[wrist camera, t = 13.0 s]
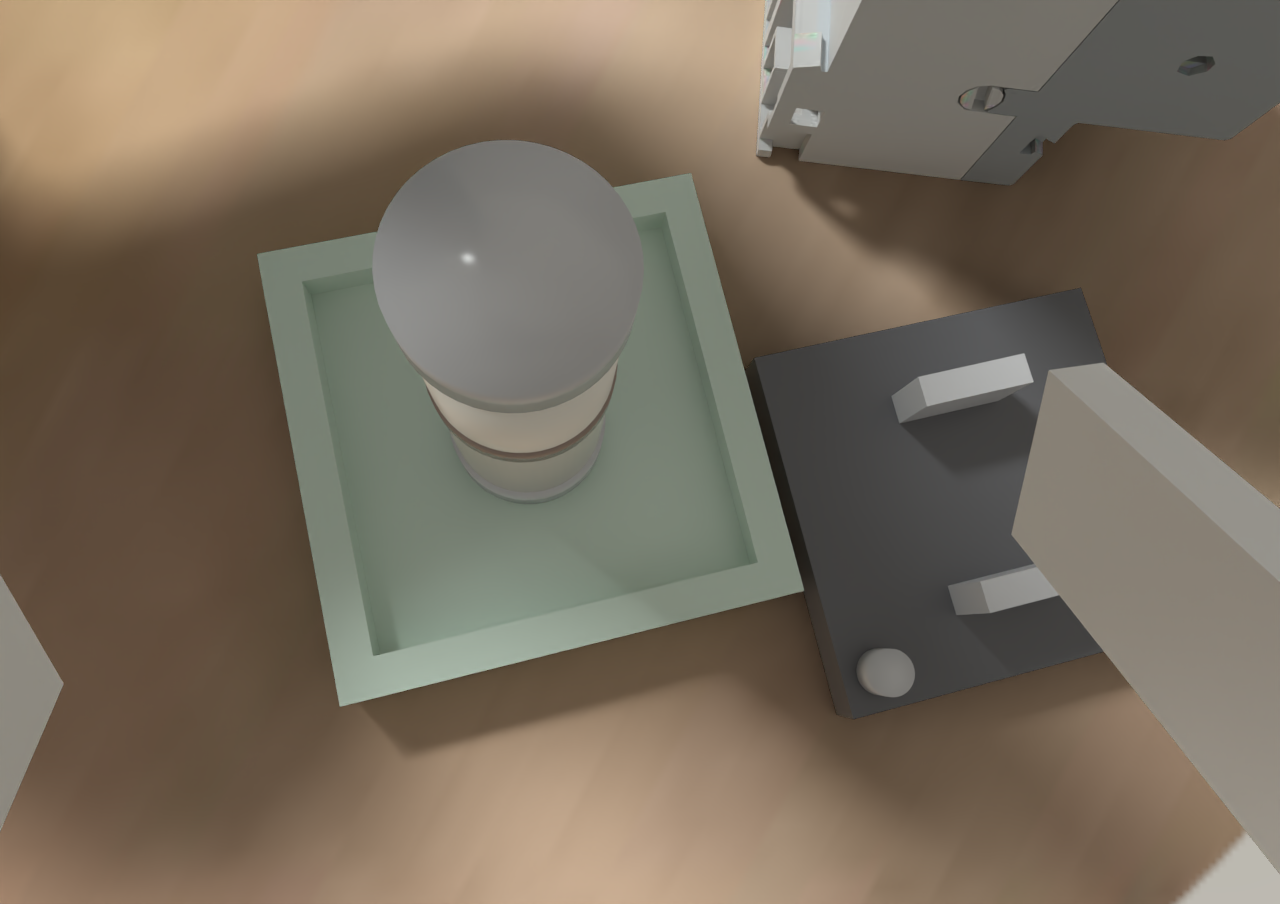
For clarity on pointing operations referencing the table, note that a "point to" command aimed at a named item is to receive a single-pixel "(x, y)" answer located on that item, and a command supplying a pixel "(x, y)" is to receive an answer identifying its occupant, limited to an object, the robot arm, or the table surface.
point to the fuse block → (921, 497)
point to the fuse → (512, 307)
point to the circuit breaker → (1005, 77)
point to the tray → (511, 532)
